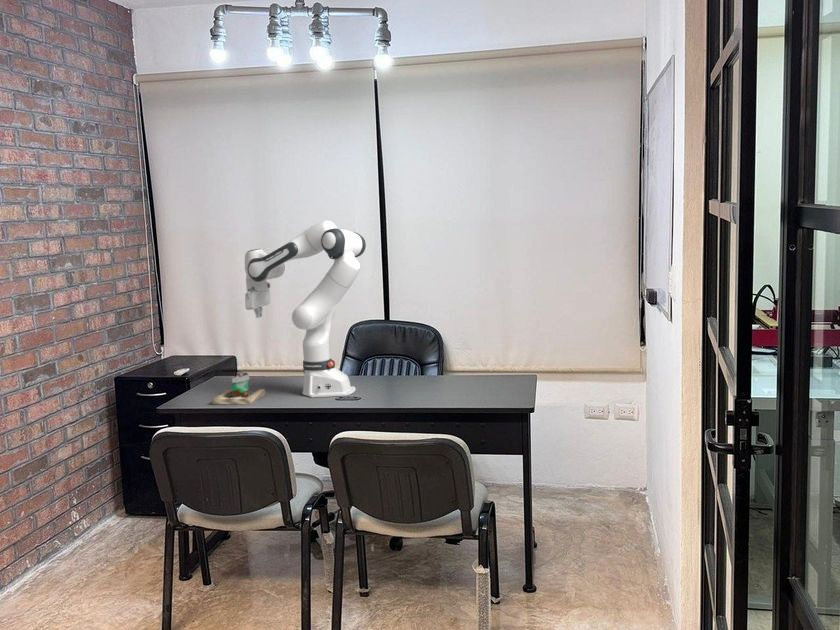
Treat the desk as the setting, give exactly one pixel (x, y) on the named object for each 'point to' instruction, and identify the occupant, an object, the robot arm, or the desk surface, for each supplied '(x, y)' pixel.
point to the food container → (240, 385)
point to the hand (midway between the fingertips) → (259, 317)
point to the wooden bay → (225, 398)
